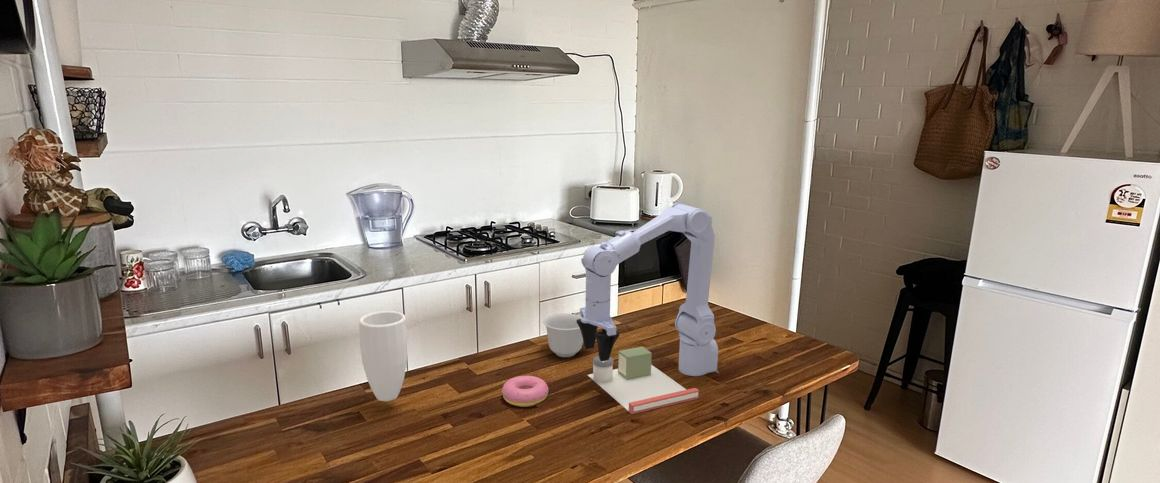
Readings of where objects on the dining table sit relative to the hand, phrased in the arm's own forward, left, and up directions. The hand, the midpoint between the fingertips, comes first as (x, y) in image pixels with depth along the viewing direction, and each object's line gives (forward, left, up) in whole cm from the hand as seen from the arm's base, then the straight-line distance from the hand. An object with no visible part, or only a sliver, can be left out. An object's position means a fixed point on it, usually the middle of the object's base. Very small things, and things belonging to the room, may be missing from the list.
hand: (596, 353), depth 151 cm
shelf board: (-11, +3, -10) cm, 15 cm away
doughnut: (+16, -5, -10) cm, 20 cm away
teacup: (-4, -24, -10) cm, 26 cm away
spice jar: (-4, -5, -9) cm, 11 cm away
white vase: (+46, -13, -10) cm, 49 cm away
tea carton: (-13, -4, -9) cm, 16 cm away
